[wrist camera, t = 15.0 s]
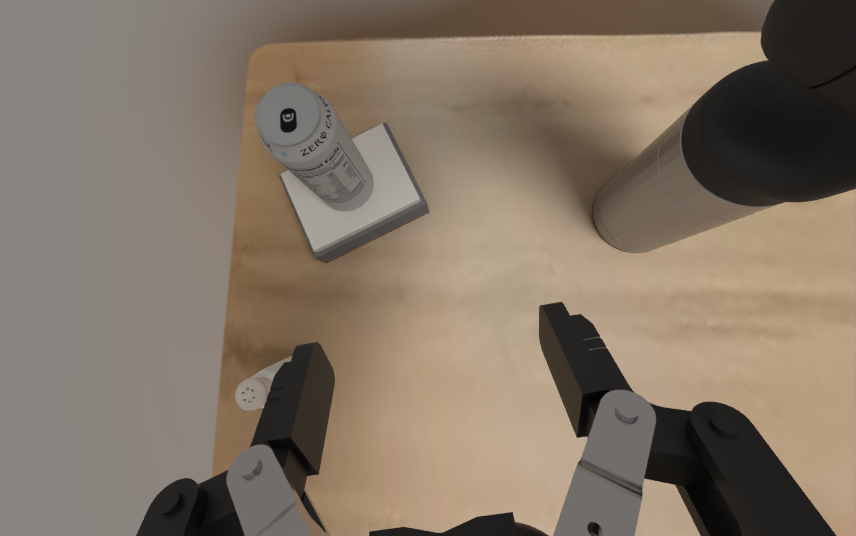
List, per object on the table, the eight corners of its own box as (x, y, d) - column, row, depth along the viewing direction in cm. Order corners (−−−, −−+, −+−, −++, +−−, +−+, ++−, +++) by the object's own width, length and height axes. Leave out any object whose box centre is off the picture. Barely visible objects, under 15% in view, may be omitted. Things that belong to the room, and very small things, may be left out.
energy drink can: (373, 159, 41) (326, 69, 27) (377, 210, 40) (330, 147, 26) (321, 165, 42) (246, 81, 27) (324, 216, 41) (248, 158, 26)
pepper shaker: (275, 358, 44) (214, 371, 33) (319, 347, 43) (272, 357, 33) (283, 405, 43) (224, 434, 32) (328, 394, 43) (283, 419, 32)
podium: (391, 137, 46) (384, 117, 42) (429, 212, 45) (425, 200, 40) (292, 186, 47) (274, 172, 42) (326, 263, 45) (311, 256, 40)
